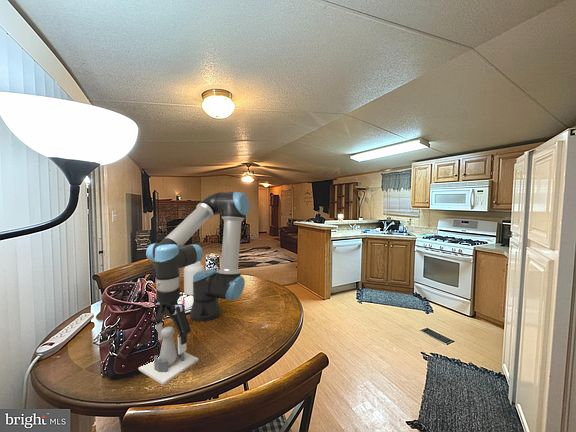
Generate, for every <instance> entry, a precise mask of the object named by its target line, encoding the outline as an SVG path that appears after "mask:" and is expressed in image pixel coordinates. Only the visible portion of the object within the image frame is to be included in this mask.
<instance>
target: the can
mask: <svg viewBox="0 0 576 432" xmlns="http://www.w3.org/2000/svg"><path fill="white" fill-rule="evenodd" d="M183 268H184V269H183V293H184V294H185V293H186V294H185V295H187V296H193V276H194V274H195V273H197V272H200V271H204V270H205V266H204V265H203V264H202V262H201V260H200V261H199V262H196V263H195V264H191V265H188V266H185V267H183Z"/></svg>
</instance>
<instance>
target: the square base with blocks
mask: <svg viewBox="0 0 576 432" xmlns="http://www.w3.org/2000/svg"><path fill="white" fill-rule="evenodd" d="M175 347H176V352H177V358H176V360H175V363H174V364H173V365H172V366H169V367H168V360H160V359H159V357H158V354H155V355H153V359H154V361H153V362H150V363H148V362H147V363H148V364H146V363H145V364H146V365H144V364H143V366H142V365H140V366H139V367H138V368H137V369H138V370H139V372H141V373H142V374H144V375H146V376H147V377H149V378H151V379H152V380H154V381H156V382H157V383H159V384H160V385H162V386H163V385H165V384H167V383H168V382H169V381H171V380H173V379H174V378H176V377H177V376H178V375H180V374H182V372H184V371H186V370H188V369H189V368H190V367H191V366H193V365H194V364H196V363H198V361H199V357H197V356H194V355H192V354H190V353H188V352H186V351H184V352H183V353H181V354H178V345H175ZM157 357H158V358H157Z"/></svg>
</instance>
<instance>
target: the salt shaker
mask: <svg viewBox="0 0 576 432" xmlns="http://www.w3.org/2000/svg"><path fill="white" fill-rule="evenodd" d="M174 334H175V328H174V327H173V326H166V327H164V328H163V327H162V331H161V336H162V337H163V339H162V343H161V347H160V353H159V359H160V360H168V367H169V366H172V365H173V364H174V363H175V360H176V358H177V352H176V347H175V346H176V345H175V343H176V342H175V338H174Z"/></svg>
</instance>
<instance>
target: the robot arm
mask: <svg viewBox="0 0 576 432" xmlns="http://www.w3.org/2000/svg"><path fill="white" fill-rule="evenodd" d="M250 209H251V206H250V199H249V197H248V196H247V194H245V193H244V192H239V191H230V192H229V191H228V192H227V191H226V192H223V191H222V192H220V191H219V192H214V193H211V194H210V195H208V196H206V197H205V198H204V199H202V200H201V201H199V203H198V204H197V205H196V208H195V209H194V210H193V211H192V212H191V213H190V214H189V215H188V216H187V217H186V218H184V219H183V221H181V223H179V224H178V225H177V226H176V227H175V228H174V229H173V230H172V231H171V232H170V233H168V235H166V236H165V238H164V239H162V240H161V241H160V242H155V243H151V244H149V245H148V247H147V249H146V252H145V256H146V258H147V260H149V261H150V262H154V264H155V265H154V266H155V267H154V268H155V269H154V270H155V286H156V287H155V288H156V292H155V293H156V294H155V296H156V298H155V299H153V306H154V305H155V306H157V308H155V312H156V314H157V315H156V317H155V316H154V317H155V323H156V322H157V324H156V325H155V329H156V330H157V332H158V340H159V341H158V342H161V340H162V341H163V337H162V336H161V331H162V329H163V322H162V321H163V318H164V317H165V315H166V316H167V317H168V318H169V319H170V320H172V322H173V325H174V327H175V328H176V330H177V333H178V335H177V346H178V354H181V353H183V352H186V351H187V342H188V341H187V337H188V335H189V334H190V333H192V329H191V325H190V322H189V320H188V317H187V314H186V310H185V305H184V304H182V303H181V304H178V303H179V302H178V300H179V299H180V297H181V287H180V286H181V282H180V281H181V280H180V269H183V268H185V267H186V266H188V265H191V264H195V263H196V262H199V261H200V262H201V260H202V259H203V258H204V251H203V248H202V247H201V246H200V245H198V244H196V243H195V244H189V245H185V244H186V242H188V240H190V238H192V236H193V235H194V234H195V233H196V232H197V231H198V230H199V229H200V228H201V227H202V226H203V225H204V224H205V223H206V222H207V220H210V219H212V218H213V217H215V216H217V215H221V218H222V220H223V235H222V246H221V247H222V248H221V260H220V269H218V270H216V269H214V268H212V269H204V271H200V272H197V273H195V274H194V276H193V295H192V300H193V302H192V306H191V309H190V311H189V318H190V320H191V321H195V322H207V321H212V320H215V319H216V318H218V317H219V316H220V315H221V306H220V304H219V301H218V299H223V300H226V301H235V300H237V299H239V298H240V297H241V295H242V293H243V292H244V288H245V284H246V281H245V278H244V277H243V275H242V276H241V274H242V273H241V270H240V269H239V260H240V259H239V257H240V245H241V231H242V230H241V229H242V221H244V220H245V219H246V218H245V216H246V215H248V214H249V212H250Z"/></svg>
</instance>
